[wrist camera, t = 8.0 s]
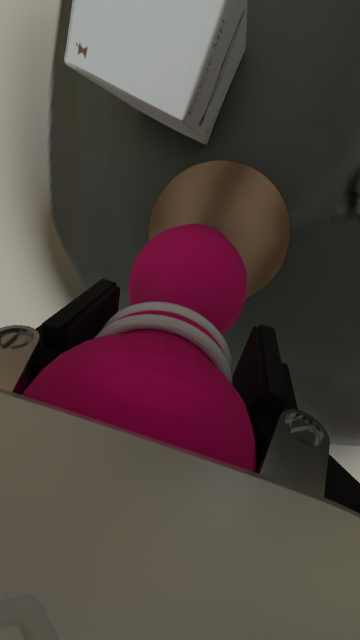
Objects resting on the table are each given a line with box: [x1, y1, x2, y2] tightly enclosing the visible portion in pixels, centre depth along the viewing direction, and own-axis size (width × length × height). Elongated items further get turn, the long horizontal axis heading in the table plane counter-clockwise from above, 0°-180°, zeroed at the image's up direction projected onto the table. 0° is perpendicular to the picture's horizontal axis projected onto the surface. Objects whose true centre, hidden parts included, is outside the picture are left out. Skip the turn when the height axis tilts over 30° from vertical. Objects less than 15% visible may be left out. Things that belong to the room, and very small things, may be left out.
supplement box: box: [64, 0, 247, 145], centre depth 18 cm, size 7×7×13 cm
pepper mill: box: [22, 224, 256, 473], centre depth 12 cm, size 7×7×20 cm
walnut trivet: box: [148, 160, 290, 299], centre depth 28 cm, size 14×14×2 cm
